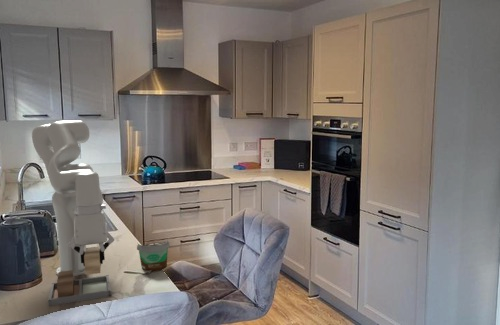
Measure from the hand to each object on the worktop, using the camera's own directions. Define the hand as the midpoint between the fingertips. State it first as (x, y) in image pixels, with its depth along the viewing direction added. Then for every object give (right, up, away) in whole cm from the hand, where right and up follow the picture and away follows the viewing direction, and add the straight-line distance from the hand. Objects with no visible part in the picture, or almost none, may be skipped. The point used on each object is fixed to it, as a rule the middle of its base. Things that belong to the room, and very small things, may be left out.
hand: (93, 263), depth 149 cm
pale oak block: (0, -2, 0) cm, 2 cm away
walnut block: (-8, -10, -1) cm, 13 cm away
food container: (+17, -7, +20) cm, 27 cm away
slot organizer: (-4, -10, 0) cm, 11 cm away
